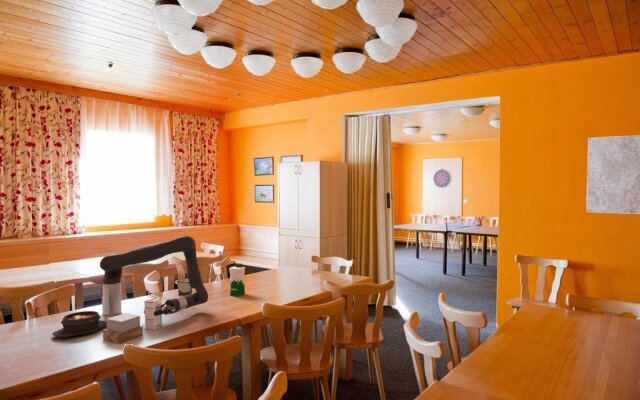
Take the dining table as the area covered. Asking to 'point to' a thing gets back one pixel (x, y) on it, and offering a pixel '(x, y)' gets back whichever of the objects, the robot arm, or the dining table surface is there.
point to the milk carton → (237, 280)
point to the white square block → (123, 322)
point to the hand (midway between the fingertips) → (149, 312)
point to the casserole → (80, 324)
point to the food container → (184, 287)
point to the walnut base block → (122, 335)
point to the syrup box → (152, 313)
